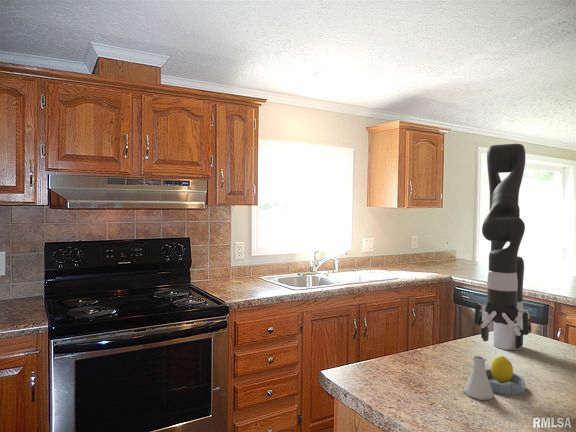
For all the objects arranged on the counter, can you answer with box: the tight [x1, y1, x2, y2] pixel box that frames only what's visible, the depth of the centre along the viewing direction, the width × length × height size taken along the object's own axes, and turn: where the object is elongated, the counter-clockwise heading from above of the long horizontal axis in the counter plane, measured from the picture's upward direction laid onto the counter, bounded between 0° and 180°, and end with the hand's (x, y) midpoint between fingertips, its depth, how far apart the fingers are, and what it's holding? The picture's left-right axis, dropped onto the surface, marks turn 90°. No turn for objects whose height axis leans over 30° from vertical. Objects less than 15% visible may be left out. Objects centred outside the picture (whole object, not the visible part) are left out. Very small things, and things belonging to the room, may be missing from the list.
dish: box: [485, 368, 526, 396], centre depth 115 cm, size 12×12×2 cm
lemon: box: [490, 355, 514, 384], centre depth 115 cm, size 6×6×8 cm
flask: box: [462, 355, 495, 401], centre depth 109 cm, size 7×7×10 cm
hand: (501, 344), depth 115 cm, fingers open, 8 cm apart
